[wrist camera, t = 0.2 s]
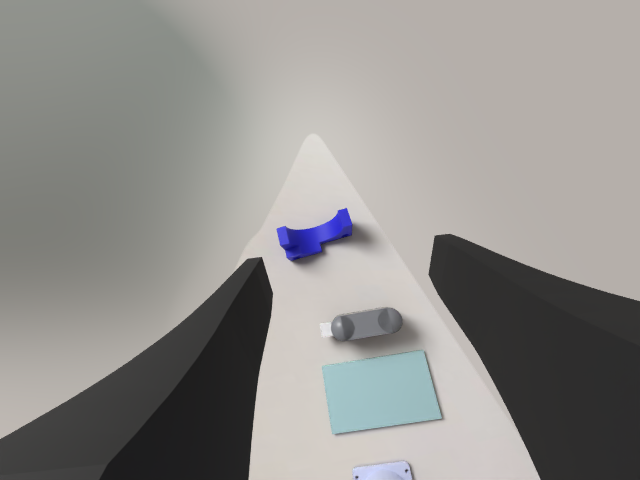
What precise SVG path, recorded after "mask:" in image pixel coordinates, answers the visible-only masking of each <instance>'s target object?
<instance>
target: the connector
mask: <svg viewBox="0 0 640 480" xmlns="http://www.w3.org/2000/svg"><path fill="white" fill-rule="evenodd" d="M401 326H402V317H401V315H400V313H399V312H398V311H397V310H395V309H393V308H388V307H382V308H376V309H370V310H364V311H359V312H353V313H347V314H341V315H338V316H337V317H336V318H335V319H334V320H333V322H332V323H331V322H327V323H321V324H320V329H321V335H322V338H323V337H329V336H334V337H335V338H336V339H338V340H340V341H348V340H354V339H360V338H365V337H371V336H377V335H383V334H389V333H395V332H397V331H398V330H399V329H400V328H401Z"/></svg>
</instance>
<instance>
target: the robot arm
mask: <svg viewBox="0 0 640 480" xmlns="http://www.w3.org/2000/svg"><path fill="white" fill-rule="evenodd" d="M429 276H430V278H431V281H432V283H433V285H434V287H435V289H436V291H437V293H438V295H439V296H440V298H441V299H442V301H443V302H444V304H445V305H446V307H447V308H448V310H449V311H450V313H451V314H452V315H453V317H454V319H455V320H456V322H457V323H458V325H459V326H460V327H461V329H462V330H463V332H464V333H465V335H466V336H467V338H468V339H469V341H470V342H471V344H472V345H473V347H474V348H475V350H476V351H477V353H478V355H479V356H480V358H481V360H482V362H483V364H484V365H485V367H486V369H487V371H488V373H489V374H490V376H491V378H492V380H493V382H494V384H495V386H496V387H497V389H498V391H499V393H500V395H501V397H502V399H503V401H504V403H505V405H506V407H507V409H508V411H509V413H510V415H511V417H512V419H513V421H514V423H515V425H516V427H517V429H518V431H519V433H520V436H521V438H522V440H523V442H524V444H525V446H526V448H527V450H528V452H529V455H530V457H531V459H532V461H533V464H534V466H535V468H536V470H537V472H538V475H539V477H540V479H541V480H640V301H637V300H633V299H629V298H626V297H622V296H618V295H615V294H611V293H607V292H604V291H601V290H597V289H594V288H591V287H587V286H584V285H581V284H578V283H575V282H572V281H569V280H566V279H562V278H560V277H557V276H554V275H551V274H548V273H546V272H543V271H540V270H538V269H535V268H532V267H530V266H527V265H524V264H522V263H519V262H517V261H515V260H512V259H510V258H507V257H505V256H502V255H500V254H498V253H495V252H493V251H491V250H488V249H486V248H484V247H481V246H479V245H477V244H475V243H472V242H470V241H467V240H465V239H463V238H460V237H457V236H455V235H452V234H445V235H436V236H435V238H434V244H433V250H432V256H431V262H430V269H429ZM272 298H273V292H272V289H271V285H270V282H269V279H268V275H267V272H266V269H265V266H264V262H263V259H262V257H258V258H250V259H247V260H246V261H245V262H244V263H243V264H242V265H241V266H240V267H239V268H238V269H237V270H236V271H235V272H234V273H233V274H232V275H231V276H230V277H229V278H228V279H227V280H226V281H225V282H224V283H223V284H222V285H221V287H220V288H218V289H217V290H216V291H215V293H213V294H212V295H211V296H210V297H209V298H208V299H207V300H206V301H205V302H204V303H203V304H202V305H201V306H200V307H199V308H197V309H196V310H195V311H194V312H193V313H192V314H191V315H190V316H189V317H187V318H186V319H185V320H184V321H182V322H181V323H180V324H179V325H178V326H177V327H175V328H174V329H173V330H172V331H170V332H169V333H168V334H166V335H165V336H164V337H162V338H161V339H160V340H158V341H157V342H156V343H154V344H153V345H151V346H150V347H149V348H147V349H146V350H145V351H143V352H142V353H140V354H139V355H138V356H136V357H135V358H133V359H132V360H131V361H129V362H128V363H126V364H125V365H123V366H122V367H120V368H119V369H117V370H116V371H114V372H113V373H111V374H110V375H108V376H107V377H105V378H103V379H102V380H100V381H99V382H97V383H96V384H94V385H92V386H91V387H89V388H88V389H86V390H84V391H83V392H81V393H79V394H78V395H76V396H75V397H73V398H71V399H70V400H68V401H67V402H65V403H63V404H61V405H59V406H58V407H56V408H54V409H52V410H51V411H49V412H47V413H45V414H44V415H42V416H40V417H38V418H37V419H35V420H33V421H32V422H30V423H28V424H26V425H25V426H23V427H21V428H19V429H18V430H16V431H14V432H12V433H11V434H9V435H7V436H5V437H3V438H1V439H0V480H248V478H249V465H250V453H251V440H252V430H253V420H254V410H255V401H256V392H257V383H258V377H259V371H260V365H261V361H262V356H263V351H264V347H265V342H266V337H267V333H268V328H269V323H270V318H271V311H272ZM405 469H408V471H407V472H406V471H405ZM355 476H358V478H355ZM353 479H354V480H412V475H411V471H410V467H409V464H408V462H406V461H401V462H393V463H386V464H378V465H371V466H363V467H356V468H354V469H353Z"/></svg>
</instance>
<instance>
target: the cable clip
mask: <svg viewBox="0 0 640 480" xmlns="http://www.w3.org/2000/svg"><path fill="white" fill-rule="evenodd" d="M277 233H278V237H279V242H280V246H281V247H283V248H284V249H285V251H286V256H287V258H288V259H289V260H290V261H292V260H296V259H299V258H303V257H306V256H310V255H313V254H317V253H320V252H322V249H321V246H320V244H323V243H326V242H330V241H333V240H337V239H340V238H344V237H347V236H350V235H352V222H351V219H350V216H349V213H348V210H347V208H345V209H342V210H338V213H337V215H336V216H335V217H334V218H333V219H332V220H330V221H329V222H327V223H325V224H323V225H320V226H317V227H314V228H310V229H304V230H293V229H289V228H287V227H286V226H284V227H280V228H277Z"/></svg>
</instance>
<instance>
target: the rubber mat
mask: <svg viewBox="0 0 640 480" xmlns="http://www.w3.org/2000/svg"><path fill="white" fill-rule="evenodd" d="M322 371H323V378H324V384H325V391H326V397H327V404H328V410H329V417H330V423H331V430H332V434H337V433H344V432H351V431H358V430H365V429H372V428H379V427H386V426H393V425H400V424H407V423H414V422H421V421H428V420H435V419H442V417H441V413H440V410H439V406H438V402H437V399H436V395H435V391H434V387H433V384H432V380H431V376H430V373H429V369H428V365H427V362H426V358H425V354H424V351H423V350H419V351H412V352H406V353H400V354H394V355H388V356H381V357H375V358H369V359H363V360H357V361H350V362H344V363H338V364H332V365H326V366H322Z"/></svg>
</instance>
